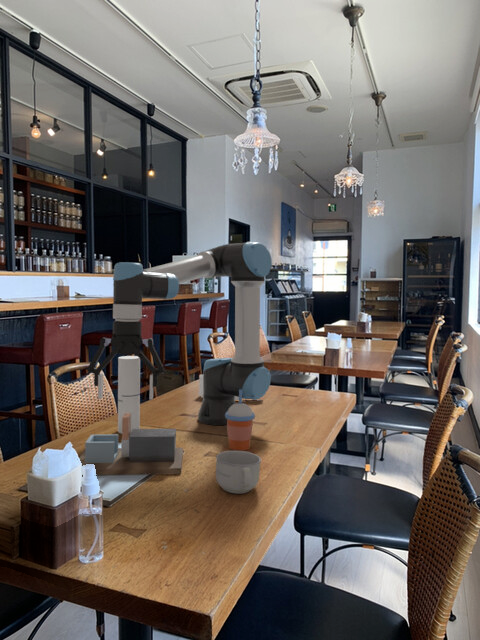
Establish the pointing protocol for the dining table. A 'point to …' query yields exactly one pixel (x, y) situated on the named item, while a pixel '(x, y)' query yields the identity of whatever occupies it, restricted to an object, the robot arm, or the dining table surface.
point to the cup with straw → (239, 425)
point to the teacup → (237, 471)
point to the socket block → (101, 448)
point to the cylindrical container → (129, 390)
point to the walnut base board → (137, 466)
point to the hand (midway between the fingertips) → (125, 398)
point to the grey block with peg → (125, 434)
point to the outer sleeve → (152, 445)
